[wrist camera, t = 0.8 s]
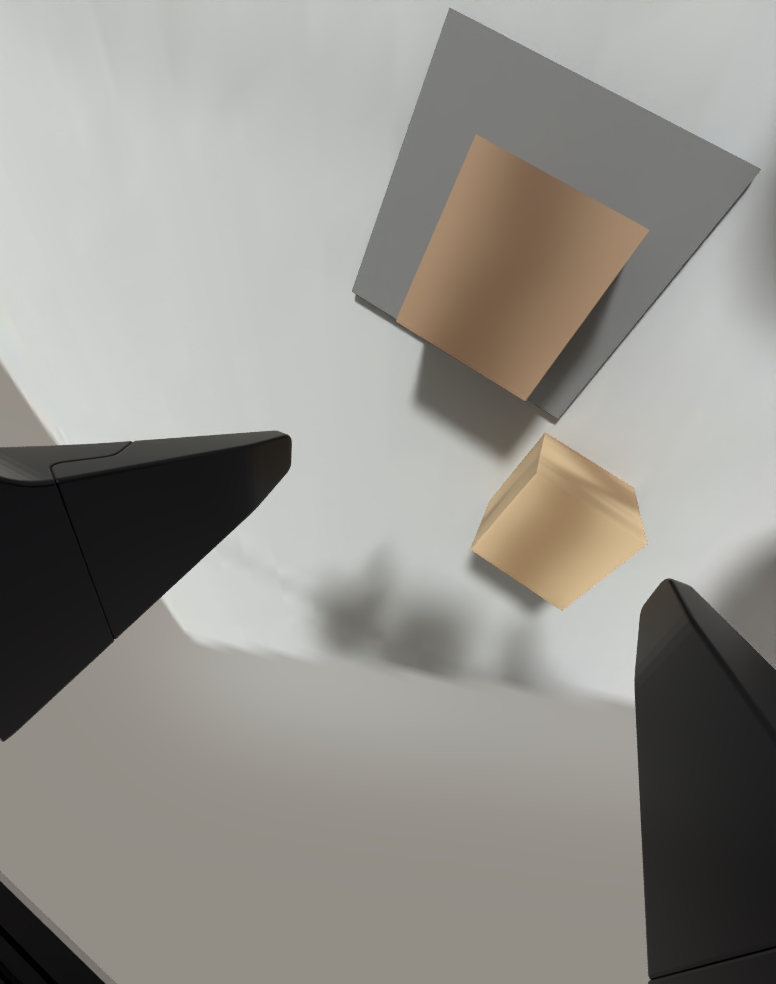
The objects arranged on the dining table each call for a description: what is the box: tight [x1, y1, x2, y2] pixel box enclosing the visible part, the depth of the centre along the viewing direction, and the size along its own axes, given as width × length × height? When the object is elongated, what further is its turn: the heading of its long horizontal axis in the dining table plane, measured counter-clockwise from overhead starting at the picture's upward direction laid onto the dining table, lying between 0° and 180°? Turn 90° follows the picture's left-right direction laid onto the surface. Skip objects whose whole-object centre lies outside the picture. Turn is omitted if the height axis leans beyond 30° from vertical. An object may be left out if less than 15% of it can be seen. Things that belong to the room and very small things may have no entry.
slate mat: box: [352, 8, 761, 419], centre depth 16 cm, size 12×10×1 cm
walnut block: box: [396, 134, 649, 401], centre depth 15 cm, size 6×6×4 cm
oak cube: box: [470, 433, 647, 611], centre depth 19 cm, size 5×5×5 cm
